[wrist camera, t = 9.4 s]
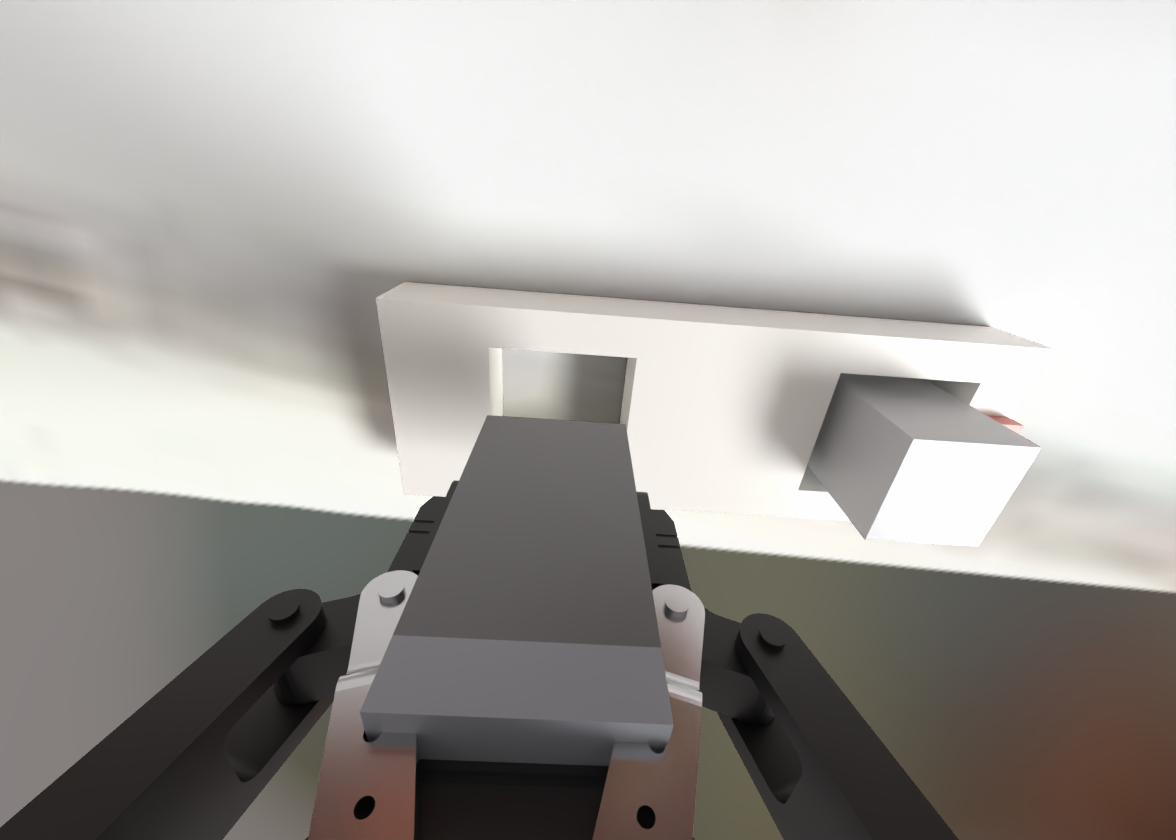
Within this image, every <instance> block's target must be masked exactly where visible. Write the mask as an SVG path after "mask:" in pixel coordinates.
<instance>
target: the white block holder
mask: <svg viewBox="0 0 1176 840" xmlns="http://www.w3.org/2000/svg"><path fill="white" fill-rule="evenodd" d="M376 305H377V312H378V319H379V326H380V333H381V340H382V347H383V354H384V360H385V367H386V374H387V381H388V388H389V395H390V402H391V409H392V416H393V423H394V430H395V437H396V444H397V451H398V458H399V465H400V472H401V478H402V485H403V492H404V494H408V495H425V496H441V497H446V495H447V492H448V490H449V488H450V486H451V484H452V482H453V481H454V480H456V481H459V480H460V477H461V475H462V473H463V470H464V468H465V466H466V463H467V461H468V459H469V456H470V454H471V452H472V449H473V447H474V445H475V442H476V440H477V438H478V435H479V433H480V431H481V428H482V426H483V424H484V421H485V419H486V417H487V415H492V416H503V385H502V348H503V349H516V350H530V351H544V352H558V353H572V354H586V355H599V356H613V357H627V358H628V359H627V367H626V375H625V383H624V392H623V400H622V408H621V416H620V424H626V430H627V436H628V442H629V449H630V455H631V461H632V467H633V474H634V480H635V486H636V492H647V493H648V497H649V502H650V507H651V509H657V510H674V511H690V512H707V513H724V514H740V515H757V516H773V517H790V518H807V519H823V520H840V521H850V520H849V519H848V517H847V516H846V515H845V513H844V512H843V511H842V509H841V508H840V507H839V506H838V504H837V503H836V502H835V500H834V499H833V498H832V497H831V495H830V494H829V493H828V491H827V490H826V489H825V488H824V486H823V485H822V484H821V482H820V481H819V480H818V478H817V477H816V476H815V475H814V473H813V472H812V471H811V469H810V468H809V467H808V466H807V464H808V462H809V459H810V456H811V453H812V451H813V448H814V445H815V442H816V440H817V437H818V434H819V431H820V429H821V426H822V423H823V420H824V418H825V415H826V412H827V409H828V407H829V404H830V401H831V398H832V396H833V393H834V390H835V387H836V385H837V382H838V379H839V376H840V374H841V373H848V374H862V375H876V376H890V377H904V378H918V379H925V380H927V381H929V382H931V383H932V384H934V385H936V386H937V387H939V388H941V389H942V390H944V391H946V392H948V393H949V394H951V395H953V396H954V397H956V398H958V399H960V400H961V401H963V402H965V403H966V404H968V405H970V406H972V407H973V408H975V409H977V410H978V411H980V412H982V413H983V414H985V415H987V416H989V417H990V418H992V419H994V420H995V421H997V422H999V423H1001V424H1002V425H1004V426H1006V427H1007V428H1009V429H1011V430H1013V431H1014V432H1016V433H1018V434H1019V433H1020V431H1021V430H1022V428H1023V425H1021V424H1019V423H1018V422H1016V421H1014V420H1012V418H1013V416H1014V415H1015V413H1016V411H1017V410H1018V408H1019V406H1020V405H1021V403H1022V401H1023V399H1024V398H1025V396H1026V394H1027V393H1028V391H1029V389H1030V387H1031V386H1032V384H1033V382H1034V381H1035V379H1036V377H1037V376H1038V374H1039V372H1040V370H1041V369H1042V367H1043V365H1044V364H1045V362H1046V360H1047V358H1048V357H1049V355H1050V353H1051V352H1052V350H1053V349H1052V348H1049V347H1046V346H1043V345H1040V344H1038V343H1035V342H1032V341H1029V340H1026V339H1024V338H1021V337H1018V336H1015V335H1012V334H1010V333H1007V332H1004V331H1001V330H999V329H996V328H993V327H985V326H972V325H959V324H946V323H933V322H920V321H907V320H894V319H881V318H868V317H855V316H842V315H829V314H816V313H803V312H790V311H777V310H764V309H751V308H738V307H725V306H712V305H699V304H686V303H673V302H660V301H647V300H634V299H621V298H608V297H595V296H582V295H569V294H556V293H543V292H530V291H517V290H504V289H491V288H478V287H465V286H452V285H439V284H426V283H413V282H404V283H402V284H400V285H398V286H396V287H394V288H393V289H391V290H389V291H387V292H385V293H383V294H382V295H380V296H378V297H376Z"/></svg>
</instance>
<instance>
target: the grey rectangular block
mask: <svg viewBox="0 0 1176 840" xmlns="http://www.w3.org/2000/svg"><path fill="white" fill-rule="evenodd" d="M360 715H361V719H362V723H363V726H364V730H365V733H366V737H367V740H368V743H370V742H373V741H375V740H377V739H378V738H379V736H380V735H381V732H392V733H417V739H418V744H419V749H420V759H430V760H457V761H484V762H511V763H538V764H565V765H592V766H609V764H610V760H611V756H612V751H613V747H614V743H615V741H621V742H647V743H649V747H650V749H651V750H652V751H653V752H654V753H656V754H660V753H663V749H664V745H665V743H669V739H670V736H671V732H672V729H673V725H674V724H673V718H672V711H671V705H670V699H669V693H668V686H667V680H666V674H665V668H664V661H663V655H662V649H661V643H660V636H659V630H658V624H657V617H656V611H655V605H654V599H653V592H652V586H651V580H650V574H649V567H648V561H647V555H646V549H645V542H644V536H643V530H642V524H641V517H640V511H639V505H638V499H637V492H636V486H635V480H634V474H633V467H632V461H631V455H630V449H629V442H628V436H627V430H626V424H615V423H600V422H584V421H569V420H554V419H538V418H523V417H508V416H492V415H487V417H486V419H485V421H484V424H483V426H482V428H481V431H480V433H479V435H478V438H477V440H476V442H475V445H474V447H473V449H472V452H471V454H470V456H469V459H468V461H467V463H466V466H465V468H464V470H463V473H462V475H461V477H460V480H459V482H458V484H457V487H456V489H455V491H454V494H453V496H452V498H451V501H450V503H449V505H448V508H447V510H446V512H445V515H444V517H443V519H442V521H441V524H440V526H439V528H438V531H437V533H436V535H435V538H434V540H433V542H432V545H431V547H430V549H429V552H428V554H427V556H426V559H425V561H424V563H423V566H422V568H421V570H420V573H419V575H418V577H417V580H416V582H415V584H414V587H413V589H412V591H411V594H410V596H409V598H408V601H407V603H406V605H405V608H404V610H403V612H402V615H401V617H400V619H399V622H398V624H397V626H396V629H395V631H394V633H393V635H392V638H391V640H390V642H389V645H388V647H387V649H386V652H385V654H384V656H383V659H382V661H381V663H380V666H379V668H378V670H377V673H376V675H375V677H374V680H373V682H372V684H371V687H370V689H369V691H368V694H367V696H366V698H365V701H364V703H363V705H362V708H361V710H360Z"/></svg>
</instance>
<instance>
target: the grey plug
mask: <svg viewBox="0 0 1176 840" xmlns="http://www.w3.org/2000/svg"><path fill="white" fill-rule="evenodd" d="M1041 448H1042V447H1040V446H1038V445H1036V444H1035V443H1033V442H1031V441H1030V440H1028V439H1026V438H1025V437H1023V436H1021V435H1019V434H1018V433H1016V432H1014V431H1013V430H1011V429H1009V428H1007V427H1006V426H1004V425H1002V424H1001V423H999V422H997V421H995V420H994V419H992V418H990V417H989V416H987V415H985V414H983V413H982V412H980V411H978V410H977V409H975V408H973V407H972V406H970V405H968V404H966V403H965V402H963V401H961V400H960V399H958V398H956V397H954V396H953V395H951V394H949V393H948V392H946V391H944V390H942V389H941V388H939V387H937V386H936V385H934V384H932V383H931V382H929V381H927V380H925V379H918V378H904V377H890V376H876V375H862V374H848V373H841V374H840V376H839V379H838V382H837V385H836V387H835V390H834V393H833V396H832V398H831V401H830V404H829V407H828V409H827V412H826V415H825V418H824V420H823V423H822V426H821V429H820V431H819V434H818V437H817V440H816V442H815V445H814V448H813V451H812V453H811V456H810V459H809V462H808V464H807V466H808V467H809V468H810V469H811V471H812V472H813V473H814V475H815V476H816V477H817V478H818V480H819V481H820V482H821V484H822V485H823V486H824V488H825V489H826V490H827V491H828V493H829V494H830V495H831V497H832V498H833V499H834V500H835V502H836V503H837V504H838V506H839V507H840V508H841V509H842V511H843V512H844V513H845V515H846V516H847V517H848V519H849V520H850V521H851V522H852V524H853V525H854V526H855V528H856V529H857V530H858V531H859V533H860V534H861V535H862V537H863V538H864V539H865V540H874V541H891V542H908V543H925V544H942V545H959V546H977V547H978V546H979V545H980V543H981V542H982V540H983V539H984V537H985V535H986V534H987V532H988V531H989V529H990V528H991V526H992V525H993V523H994V521H995V520H996V518H997V517H998V515H999V514H1000V512H1001V511H1002V509H1003V507H1004V506H1005V504H1006V503H1007V501H1008V500H1009V498H1010V497H1011V495H1012V493H1013V492H1014V490H1015V489H1016V487H1017V486H1018V484H1019V483H1020V481H1021V479H1022V478H1023V476H1024V475H1025V473H1026V472H1027V470H1028V469H1029V467H1030V465H1031V464H1032V462H1033V461H1034V459H1035V458H1036V456H1037V455H1038V453H1039V451H1040V450H1041Z"/></svg>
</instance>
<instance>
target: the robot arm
mask: <svg viewBox="0 0 1176 840" xmlns="http://www.w3.org/2000/svg"><path fill="white" fill-rule="evenodd" d="M458 482H459V481H456V480H454V481H453V482H452V484H451V486H450V488H449V490H448V492H447V495H446V497H440V496H433V497H432V498H431V499H430V500H429V501H427V502H426V503H425V504H424V505H423V506H421V508H420V510H419V512H418V514H417V515H416V517H415V519H414V522H413V523H412V525H411V528H410V529H409V533H407V535H406V537H405V539H404V541H403V543H402V545H401V547H400V549H399V551H398V553H397V554H396V556H395V558H394V560H393V562H392V564H391V566H390V568H389V570H388V572H387V573H384V574H382V575H380V576H378V577H377V578H375V579H373V580H372V581H371V582H369V583H368V585H367V586H366V587H365V588H364V589H363V591H362V593H361V594H359V595H356V596H352V597H349V598H344V599H339V600H334V601H329V602H324V603H322V602H321V599H320V597H319V596H318V594H316V593H315V592H313V591H311V590H307V589H295V590H289V591H285V592H282V593H280V594H277V595H275V596H274V597H271V598H270V599H268V600H267V601H265V602H264V603H262V604H261V605H260V606H259V607H258V608H257V609H255V610H254V611H253V612H252V613H251V614H249V615H248V616H247V617H246V618H245V619H244V620H242V621H241V622H240V623H239V624H238V625H237V626H235V627H234V628H233V629H232V630H231V631H230V632H228V633H227V634H226V635H225V636H224V637H223V638H221V639H220V640H219V641H218V642H217V643H216V644H214V646H212V647H211V648H210V649H208V650H207V651H206V652H205V653H204V654H203V655H201V656H200V657H199V658H198V659H197V660H196V661H194V662H193V663H192V664H191V665H190V666H189V667H187V668H186V669H185V670H184V671H183V672H182V673H180V674H179V675H178V676H177V677H176V678H175V679H173V680H172V681H171V682H170V683H169V684H168V685H166V686H165V687H164V688H163V689H162V690H161V691H159V692H158V693H157V694H156V695H155V696H154V697H152V698H151V699H150V700H149V701H148V702H147V703H145V704H144V705H143V706H142V707H141V708H140V709H138V710H137V711H136V712H135V713H134V714H133V715H131V716H130V717H129V718H128V719H127V720H125V721H124V722H123V723H122V724H121V725H120V726H119V727H117V728H116V729H115V730H114V731H113V732H112V733H110V734H109V735H108V736H107V737H106V738H105V739H103V740H102V741H101V742H100V743H99V744H98V745H96V746H95V747H94V748H93V749H92V750H91V751H89V752H88V753H87V754H86V755H85V756H83V757H82V758H81V759H80V760H79V761H78V762H77V763H75V764H74V765H73V766H72V767H71V768H69V769H68V770H67V771H66V772H65V773H64V774H62V775H61V776H60V777H59V778H58V779H57V780H55V781H54V782H53V783H52V784H51V785H50V786H48V787H47V788H46V789H45V790H44V791H43V792H41V793H40V794H39V795H38V796H37V797H35V798H34V799H33V800H32V801H31V802H30V803H28V804H27V805H26V806H25V807H24V808H23V809H21V810H20V811H19V812H18V813H17V814H16V815H15V816H14V817H12V818H11V819H10V820H9V821H7V822H6V823H5V824H4V825H3V826H2V827H1V828H0V840H222V839H223V838H224V837H225V836H226V834H227V833H228V832H229V830H230V829H231V828H232V827H233V826H234V824H235V823H236V822H237V821H238V819H239V818H240V817H241V816H242V814H243V813H244V812H245V811H246V810H247V808H248V807H249V805H251V803H252V802H253V801H254V799H255V798H256V797H257V796H258V795H259V793H260V792H261V791H262V790H263V788H264V787H265V786H266V785H267V783H268V782H269V781H270V780H271V778H272V777H273V776H274V775H275V773H276V772H277V771H278V770H279V768H280V767H281V766H282V764H283V763H284V762H285V761H286V760H287V758H288V757H289V756H290V755H291V753H292V752H293V751H294V750H295V748H296V747H297V746H298V745H299V743H300V742H301V741H302V740H303V738H304V737H305V736H306V735H307V733H308V732H309V731H310V730H311V728H312V727H313V726H314V725H315V723H316V722H317V721H318V720H319V718H320V717H321V716H322V715H323V713H324V712H325V711H326V710H327V709H328V707H329V706H330V705H331V704H332V702H333V706H332V711H331V717H330V723H329V728H328V733H327V739H326V744H325V750H324V755H323V760H322V766H321V772H320V776H319V782H318V788H317V793H316V798H315V804H314V809H313V814H312V820H311V825H310V831H309V836H308V837H307V838H306V839H305V840H695V839H694V838H693V824H694V811H695V797H696V783H697V770H698V769H697V768H698V755H699V742H700V728H701V714H702V706H703V707H706V708H708V709H711V710H713V711H716V712H717V713H718V715H719V717H720V719H721V721H722V723H723V725H724V727H725V729H726V730H727V732H728V734H729V736H730V738H731V740H732V742H733V744H734V746H735V748H736V750H737V751H738V753H739V755H740V757H741V759H742V761H743V763H744V765H745V767H746V768H747V770H748V772H749V774H750V776H751V778H752V780H753V782H754V784H755V786H756V788H757V790H758V791H759V793H760V795H761V797H762V799H763V801H764V803H765V805H766V806H767V809H768V810H769V812H770V814H771V816H772V818H773V820H774V822H775V824H776V825H777V827H778V830H779V831H780V833H781V835H782V837H783V839H784V840H959V839H958V838H957V837H956V836H955V834H954V833H953V832H952V830H951V829H950V828H949V827H948V825H947V824H946V823H945V822H944V820H943V819H942V818H941V817H940V815H939V814H938V813H937V811H936V810H935V809H934V808H933V806H932V805H931V804H930V803H929V801H928V800H927V799H926V798H925V796H924V795H923V794H922V792H921V791H920V790H919V789H918V787H917V786H916V785H915V783H914V782H913V781H912V780H911V778H910V777H909V776H908V775H907V773H906V772H905V771H904V769H903V768H902V767H901V766H900V765H899V763H898V762H897V761H896V759H895V758H894V757H893V755H892V754H891V753H890V752H889V750H888V749H887V748H886V747H885V745H884V744H883V743H882V741H881V740H880V739H879V738H878V737H877V735H876V734H875V733H874V731H873V730H872V729H871V727H870V726H869V725H868V724H867V722H866V721H865V720H864V719H863V717H862V716H861V715H860V714H859V712H858V711H857V710H856V708H855V707H854V706H853V705H852V703H851V702H850V701H849V700H848V698H847V697H846V696H845V694H843V692H842V691H841V689H840V688H839V687H838V686H837V684H836V683H835V682H834V680H833V679H832V678H831V677H830V675H829V674H828V673H827V672H826V670H825V669H824V668H823V667H822V666H821V664H820V663H819V662H818V660H817V659H816V658H815V656H814V655H813V654H812V652H811V651H810V650H809V649H808V647H807V646H806V645H805V644H804V642H803V641H802V640H801V638H800V637H799V636H798V635H797V633H796V632H795V631H794V630H793V629H792V628H791V627H790V626H789V625H788V624H786V623H785V622H784V621H782V620H780V619H778V618H776V617H774V616H771V615H768V614H759V613H758V614H752V615H749V616H747V617H746V618H745V619H744V620H743V621H742V623H738V622H736V621H732V620H730V619H726V618H724V617H721V616H718V615H716V614H714V613H712V612H710V611H708V610H707V609H705V608H704V606H703V604H702V602H701V601H700V599H699V598H698V597H697V596H696V595H695V594H694V593H693V592H692V591H691V588H690V584H689V580H688V576H687V572H686V568H685V565H684V561H683V557H682V553H681V549H680V545H679V541H678V538H677V533H676V529H675V525H674V522H673V521H672V519H671V518H670V517H669V516H668V514H667V513H666V512H665V511H664V510H655V509H651V507H650V502H649V497H648V493H647V492H637V499H638V505H639V511H640V517H641V524H642V530H643V536H644V542H645V549H646V555H647V561H648V567H649V574H650V580H651V586H652V592H653V599H654V605H655V611H656V617H657V624H658V630H659V636H660V643H661V649H662V655H663V661H664V668H665V674H666V680H667V686H668V693H669V699H670V705H671V711H672V718H673V724H674V725H673V729H672V732H671V736H670V739H669V743H665V745H664V749H663V753H660V754H656V753H654V752H653V751H652V750H651V749H650V747H649V743H647V742H621V741H615V743H614V747H613V751H612V756H611V760H610V764H609V766H592V765H565V764H538V763H511V762H484V761H457V760H430V759H420V749H419V744H418V739H417V733H392V732H381V735H380V736H379V738H378V739H377V740H375V741H373V742H370V743H368V740H367V737H366V733H365V730H364V726H363V723H362V719H361V715H360V710H361V708H362V705H363V703H364V701H365V698H366V696H367V694H368V691H369V689H370V687H371V684H372V682H373V680H374V677H375V675H376V673H377V670H378V668H379V666H380V663H381V661H382V659H383V656H384V654H385V652H386V649H387V647H388V645H389V642H390V640H391V638H392V635H393V633H394V631H395V629H396V626H397V624H398V622H399V619H400V617H401V615H402V612H403V610H404V608H405V605H406V603H407V601H408V598H409V596H410V594H411V591H412V589H413V587H414V584H415V582H416V580H417V577H418V575H419V573H420V570H421V568H422V566H423V563H424V561H425V559H426V556H427V554H428V552H429V549H430V547H431V545H432V542H433V540H434V538H435V535H436V533H437V531H438V528H439V526H440V524H441V521H442V519H443V517H444V515H445V512H446V510H447V508H448V505H449V503H450V501H451V498H452V496H453V494H454V491H455V489H456V487H457V484H458Z"/></svg>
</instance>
